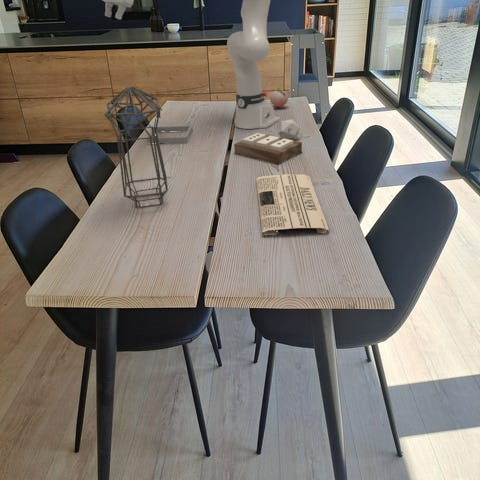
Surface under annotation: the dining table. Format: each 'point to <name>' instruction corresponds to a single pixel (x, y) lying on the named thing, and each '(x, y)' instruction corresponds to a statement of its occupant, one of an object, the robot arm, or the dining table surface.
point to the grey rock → (288, 129)
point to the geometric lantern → (155, 138)
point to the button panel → (268, 152)
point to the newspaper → (288, 204)
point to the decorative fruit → (278, 98)
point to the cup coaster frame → (173, 139)
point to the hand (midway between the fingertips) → (112, 17)
